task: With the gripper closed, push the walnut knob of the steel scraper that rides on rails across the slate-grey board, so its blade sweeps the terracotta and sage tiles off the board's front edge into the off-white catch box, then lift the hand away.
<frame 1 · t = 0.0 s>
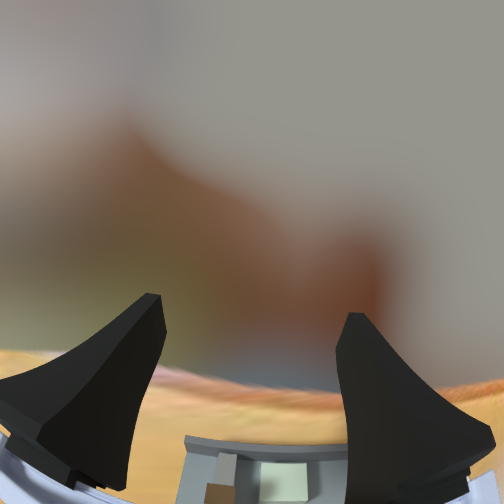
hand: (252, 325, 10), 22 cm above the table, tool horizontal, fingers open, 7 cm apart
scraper: (220, 502, 14), point 5 cm above the table, slide at 0.0 cm
sage tile: (280, 487, 18), point 2 cm above the table, touching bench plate
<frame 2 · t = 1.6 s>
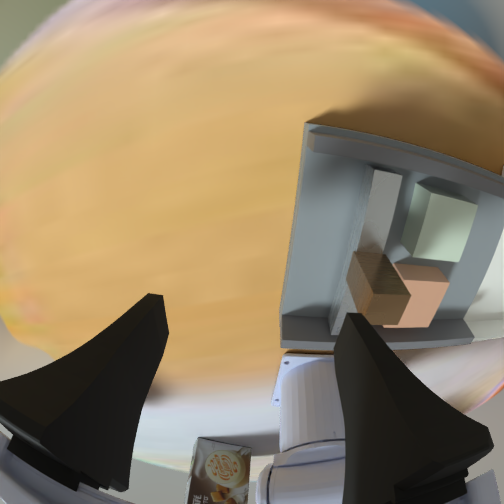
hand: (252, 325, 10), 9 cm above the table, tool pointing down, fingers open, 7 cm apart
coffee box: (221, 447, 38), on the table
terracotta tile: (407, 288, 18), point 2 cm above the table, touching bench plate
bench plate: (403, 241, 18), on the table
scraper: (371, 277, 14), point 5 cm above the table, slide at 0.0 cm
sage tile: (432, 217, 15), point 2 cm above the table, touching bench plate
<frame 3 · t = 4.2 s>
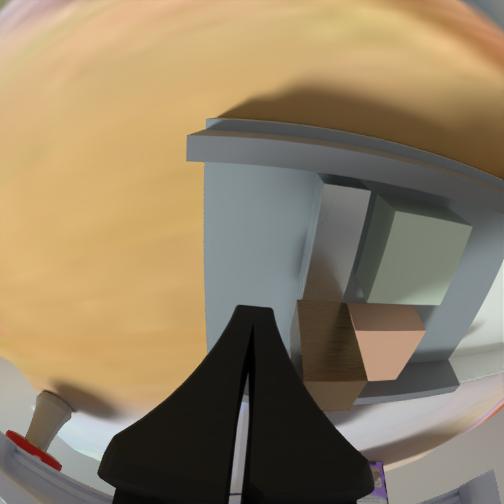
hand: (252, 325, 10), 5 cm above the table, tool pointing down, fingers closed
decorative mushroom: (56, 400, 29), on the table
candy box: (343, 465, 32), on the table
terracotta tile: (370, 332, 14), point 2 cm above the table, touching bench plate
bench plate: (368, 269, 15), on the table
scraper: (320, 337, 10), point 5 cm above the table, slide at 1.0 cm, touching gripper
sage tile: (404, 242, 11), point 2 cm above the table, touching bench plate
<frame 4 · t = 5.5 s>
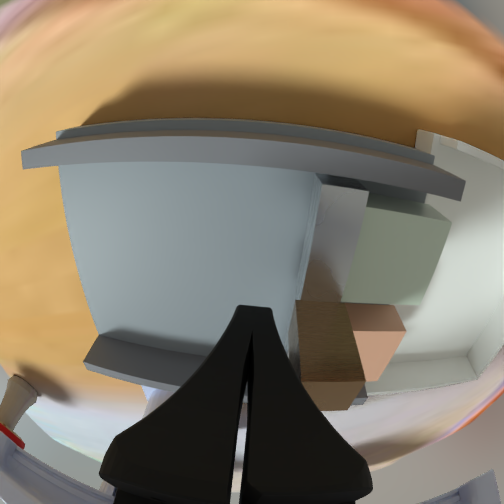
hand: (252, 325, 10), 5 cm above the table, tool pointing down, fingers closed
decorative mushroom: (25, 384, 29), on the table
terracotta tile: (349, 332, 14), point 2 cm above the table
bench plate: (230, 257, 15), on the table
catch box: (459, 277, 14), on the table
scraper: (318, 337, 10), point 5 cm above the table, slide at 8.5 cm, touching gripper
sage tile: (381, 239, 11), point 2 cm above the table
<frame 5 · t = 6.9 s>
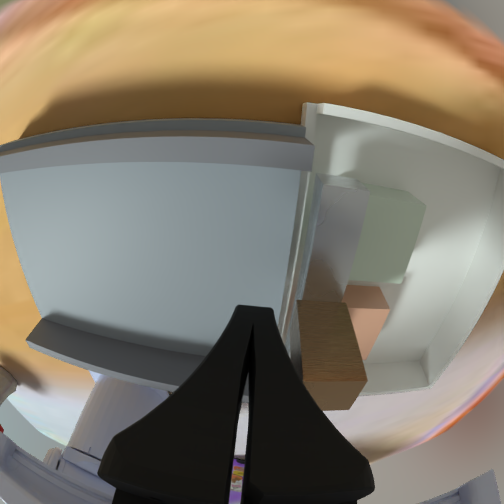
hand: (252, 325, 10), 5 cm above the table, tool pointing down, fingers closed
decorative mushroom: (6, 374, 29), on the table
candy box: (259, 467, 32), on the table
terracotta tile: (338, 312, 16), resting on catch box
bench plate: (131, 247, 15), on the table
catch box: (390, 271, 14), on the table
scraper: (320, 337, 10), point 5 cm above the table, slide at 14.3 cm, touching gripper
sage tile: (363, 223, 13), resting on catch box
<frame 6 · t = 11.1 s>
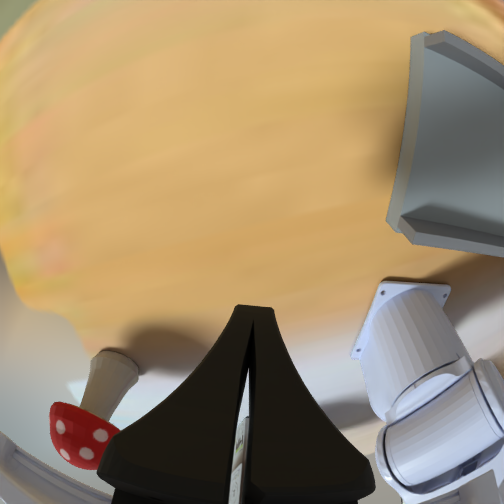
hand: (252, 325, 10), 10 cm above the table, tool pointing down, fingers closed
coffee box: (269, 428, 35), on the table
decorative mushroom: (117, 362, 30), on the table
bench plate: (486, 156, 15), on the table
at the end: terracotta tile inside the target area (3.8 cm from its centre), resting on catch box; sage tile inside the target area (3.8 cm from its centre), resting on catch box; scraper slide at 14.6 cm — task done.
